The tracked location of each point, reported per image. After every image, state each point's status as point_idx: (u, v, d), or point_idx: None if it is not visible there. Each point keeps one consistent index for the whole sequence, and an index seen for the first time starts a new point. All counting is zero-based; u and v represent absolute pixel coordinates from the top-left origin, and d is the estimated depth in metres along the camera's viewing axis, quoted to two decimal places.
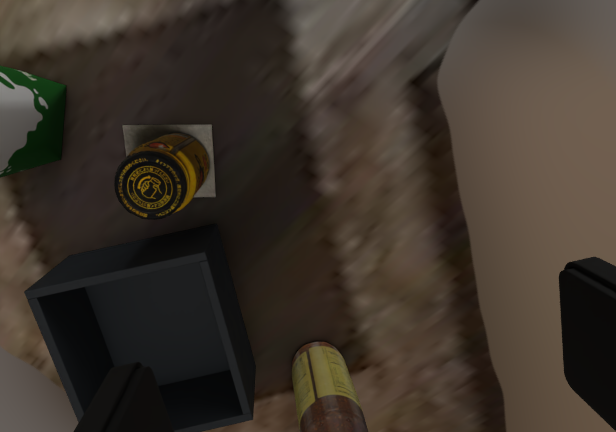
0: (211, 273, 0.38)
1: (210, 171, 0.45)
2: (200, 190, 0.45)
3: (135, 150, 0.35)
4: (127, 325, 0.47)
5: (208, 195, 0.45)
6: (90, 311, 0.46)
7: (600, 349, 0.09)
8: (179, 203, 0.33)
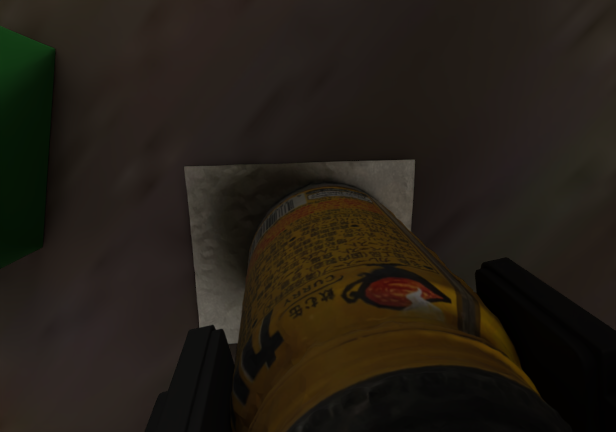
0: None
1: None
2: None
3: (304, 316, 0.08)
4: None
5: None
6: None
7: None
8: None
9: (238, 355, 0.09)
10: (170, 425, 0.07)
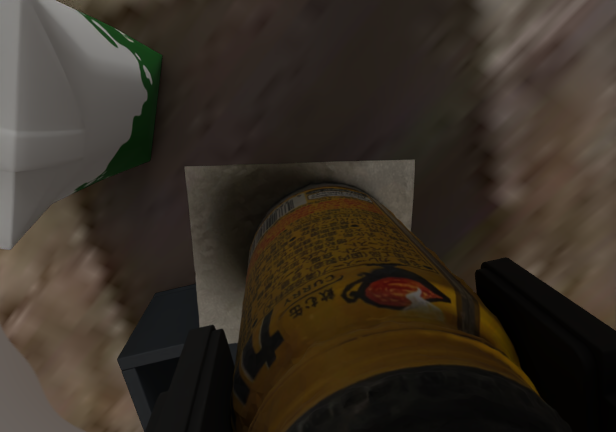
0: None
1: None
2: None
3: (304, 316, 0.08)
4: None
5: None
6: None
7: None
8: None
9: (238, 355, 0.09)
10: (170, 425, 0.07)
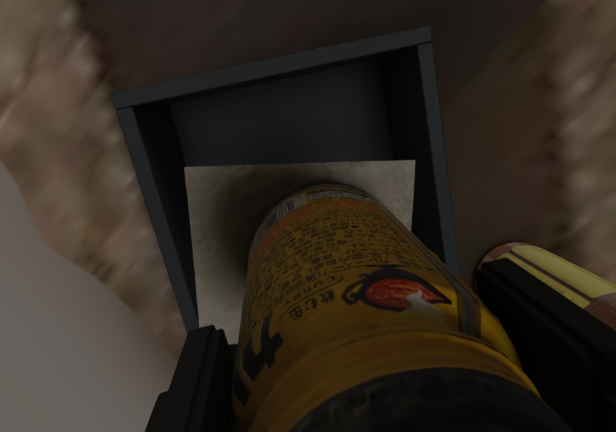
0: None
1: None
2: None
3: (304, 318, 0.08)
4: None
5: None
6: None
7: None
8: None
9: (238, 356, 0.09)
10: (170, 425, 0.07)
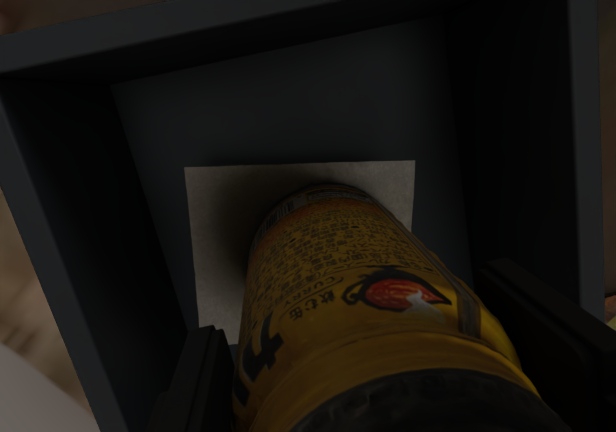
0: (593, 6, 0.11)
1: None
2: None
3: (304, 318, 0.08)
4: None
5: None
6: (144, 210, 0.19)
7: None
8: None
9: (238, 357, 0.09)
10: (170, 425, 0.07)
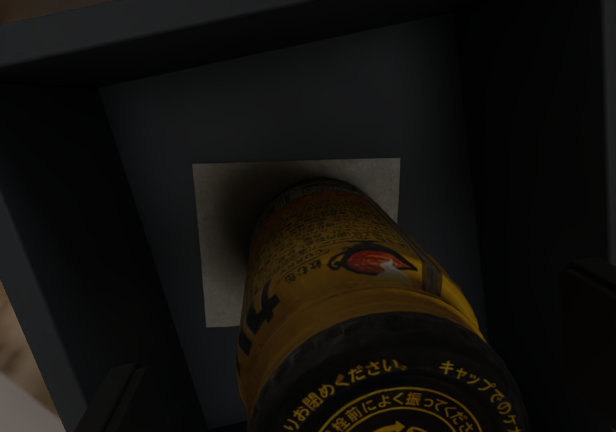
0: None
1: None
2: None
3: (297, 281, 0.10)
4: None
5: None
6: (135, 221, 0.18)
7: (600, 349, 0.09)
8: None
9: (242, 318, 0.11)
10: None
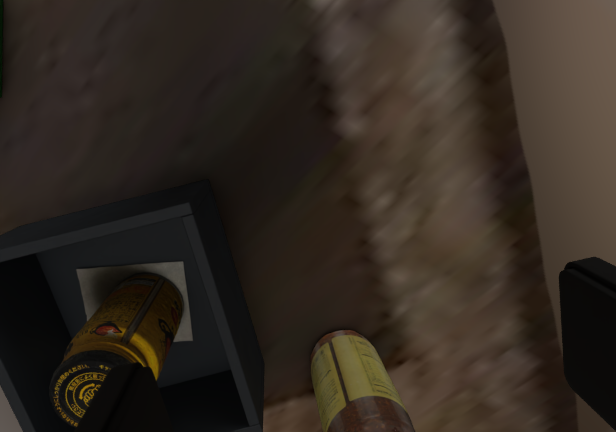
0: (199, 232, 0.28)
1: (185, 312, 0.37)
2: None
3: (79, 338, 0.28)
4: None
5: (184, 339, 0.38)
6: (49, 298, 0.36)
7: (600, 349, 0.09)
8: None
9: None
10: None
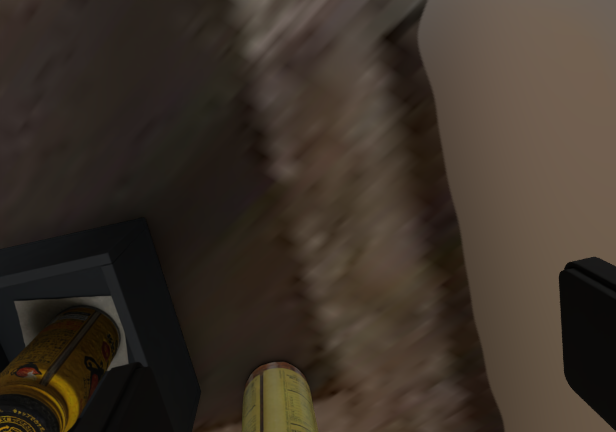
0: (118, 281, 0.29)
1: (121, 343, 0.39)
2: (111, 363, 0.39)
3: (0, 378, 0.29)
4: None
5: None
6: None
7: (600, 349, 0.09)
8: None
9: None
10: None
